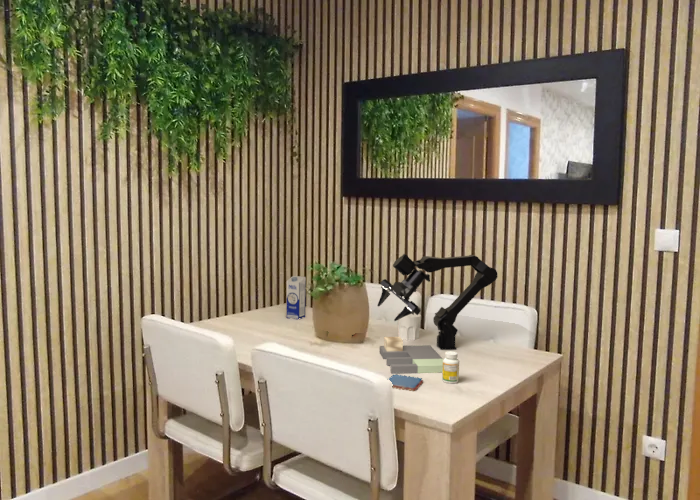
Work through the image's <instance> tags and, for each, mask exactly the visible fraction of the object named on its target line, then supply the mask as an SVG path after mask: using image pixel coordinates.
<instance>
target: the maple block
mask: <svg viewBox="0 0 700 500" xmlns="http://www.w3.org/2000/svg"><path fill="white" fill-rule="evenodd" d="M383 338H384V340H383V342H384V343H383V346H384V348H385V349H386V351H403V346H404V339H401V338H400V337H399V336H384V337H383Z"/></svg>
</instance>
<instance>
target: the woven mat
mask: <svg viewBox="0 0 700 500" xmlns="http://www.w3.org/2000/svg"><path fill="white" fill-rule="evenodd" d="M388 379H389V380H390V381H391V382H392V384H393V388H392V389H396V390H397V389H398V390H399V391H400V390H403V391H404V390H405V391H409V392H411V391H412V392H415V391H416V390H417V389H418V388H419V387H420V386H421V385H422V384H423V382H424V380H423V378H422V377H418V376H417V377H415V376H410V375H403V374H392V375H391V376H390V377H389V378H388Z"/></svg>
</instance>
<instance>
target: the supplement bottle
mask: <svg viewBox="0 0 700 500" xmlns="http://www.w3.org/2000/svg"><path fill="white" fill-rule="evenodd" d="M441 377H442V381H443V383H445V384H450V385H453V384H457V383H459V380H460V379H459V378H460V360H459V358H458V352H457V351H450V350H448V351H445V353H444V358H443V373H442V375H441Z"/></svg>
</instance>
